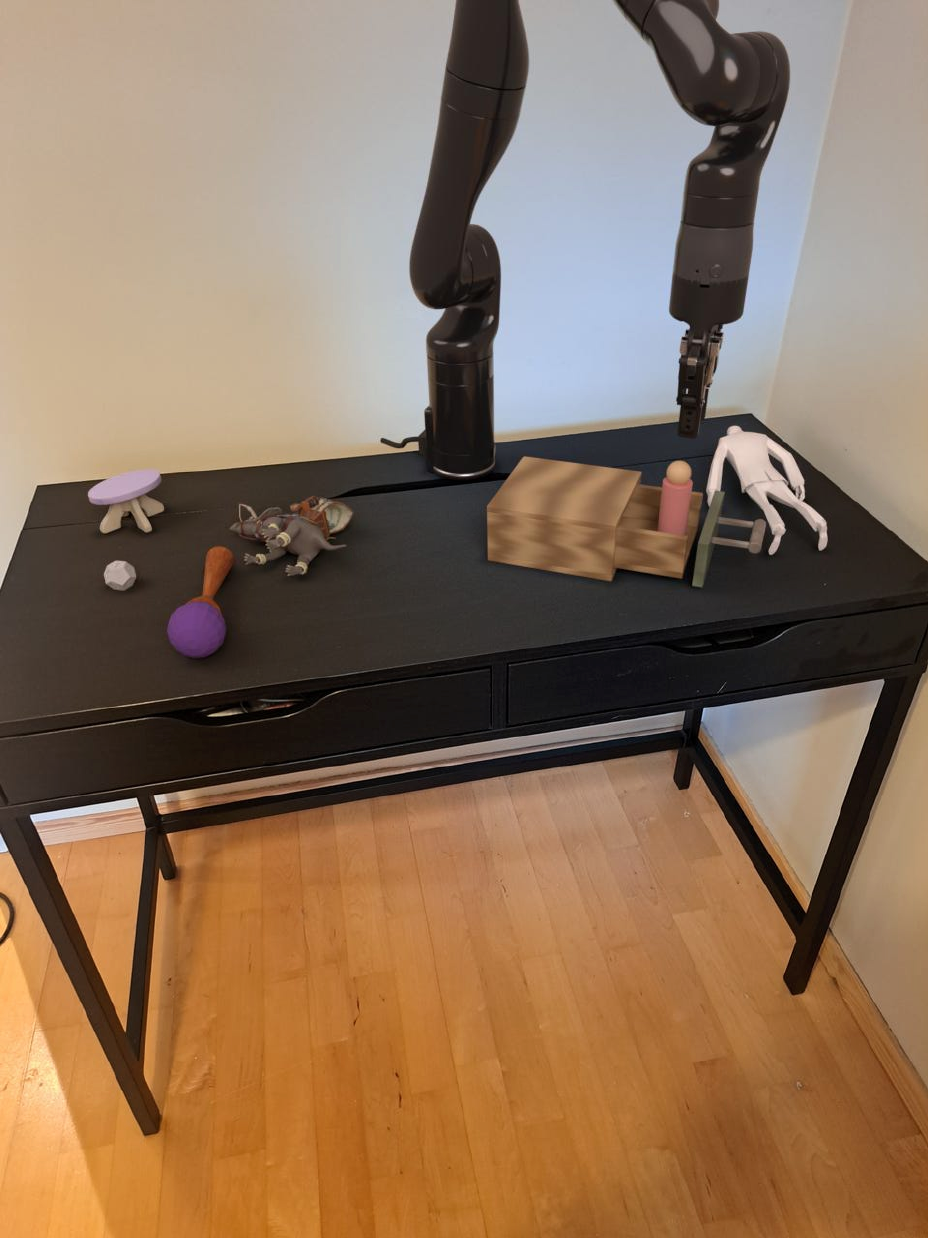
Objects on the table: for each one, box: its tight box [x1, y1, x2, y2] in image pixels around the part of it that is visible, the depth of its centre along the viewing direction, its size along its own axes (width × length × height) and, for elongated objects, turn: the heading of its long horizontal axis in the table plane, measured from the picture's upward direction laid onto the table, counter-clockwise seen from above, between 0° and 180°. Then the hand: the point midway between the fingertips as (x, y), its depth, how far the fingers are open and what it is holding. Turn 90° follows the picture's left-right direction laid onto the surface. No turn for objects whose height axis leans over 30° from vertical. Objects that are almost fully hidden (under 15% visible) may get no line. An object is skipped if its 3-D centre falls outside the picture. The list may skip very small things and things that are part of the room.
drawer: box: [614, 484, 767, 588], centre depth 108 cm, size 20×13×6 cm
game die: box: [103, 560, 137, 592], centre depth 108 cm, size 4×4×3 cm
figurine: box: [229, 495, 354, 577], centre depth 114 cm, size 20×6×17 cm
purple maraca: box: [166, 546, 235, 659], centre depth 102 cm, size 6×6×20 cm
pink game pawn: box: [657, 460, 694, 536], centre depth 106 cm, size 3×3×11 cm
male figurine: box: [705, 425, 829, 556], centre depth 119 cm, size 14×6×25 cm
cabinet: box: [486, 456, 643, 582], centre depth 112 cm, size 16×15×8 cm
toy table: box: [87, 468, 165, 534], centre depth 121 cm, size 10×9×6 cm
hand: (691, 427), depth 100 cm, fingers open, 4 cm apart
